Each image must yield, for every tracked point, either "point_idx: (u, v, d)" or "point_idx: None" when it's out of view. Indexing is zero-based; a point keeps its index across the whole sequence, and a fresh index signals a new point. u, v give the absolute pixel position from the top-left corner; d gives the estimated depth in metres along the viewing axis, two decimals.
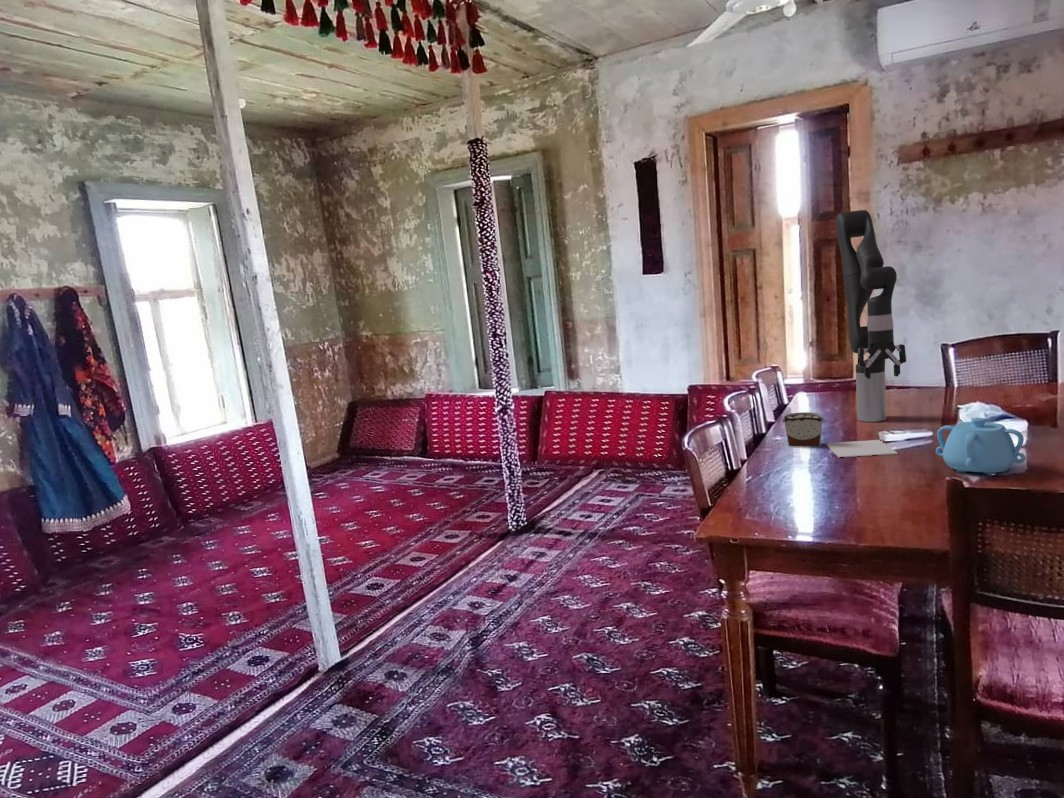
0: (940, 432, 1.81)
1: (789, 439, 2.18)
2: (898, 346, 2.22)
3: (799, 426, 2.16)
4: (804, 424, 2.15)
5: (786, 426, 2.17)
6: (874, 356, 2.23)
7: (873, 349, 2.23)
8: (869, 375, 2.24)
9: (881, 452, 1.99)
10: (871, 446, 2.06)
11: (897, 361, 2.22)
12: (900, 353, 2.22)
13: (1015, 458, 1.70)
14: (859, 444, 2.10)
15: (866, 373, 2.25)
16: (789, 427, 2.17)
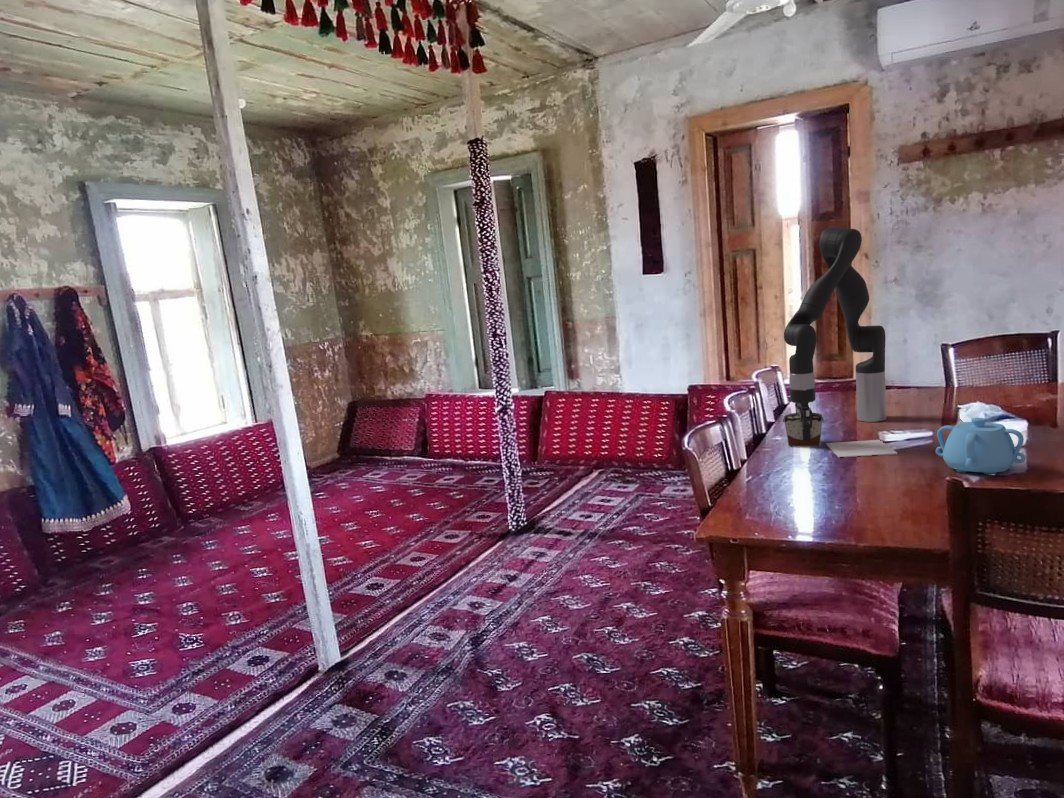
0: (940, 432, 1.81)
1: (789, 439, 2.18)
2: None
3: (799, 426, 2.16)
4: None
5: (786, 426, 2.17)
6: None
7: None
8: None
9: (881, 452, 1.99)
10: (871, 446, 2.06)
11: None
12: None
13: (1015, 458, 1.70)
14: (859, 444, 2.10)
15: (809, 435, 2.14)
16: (789, 427, 2.17)
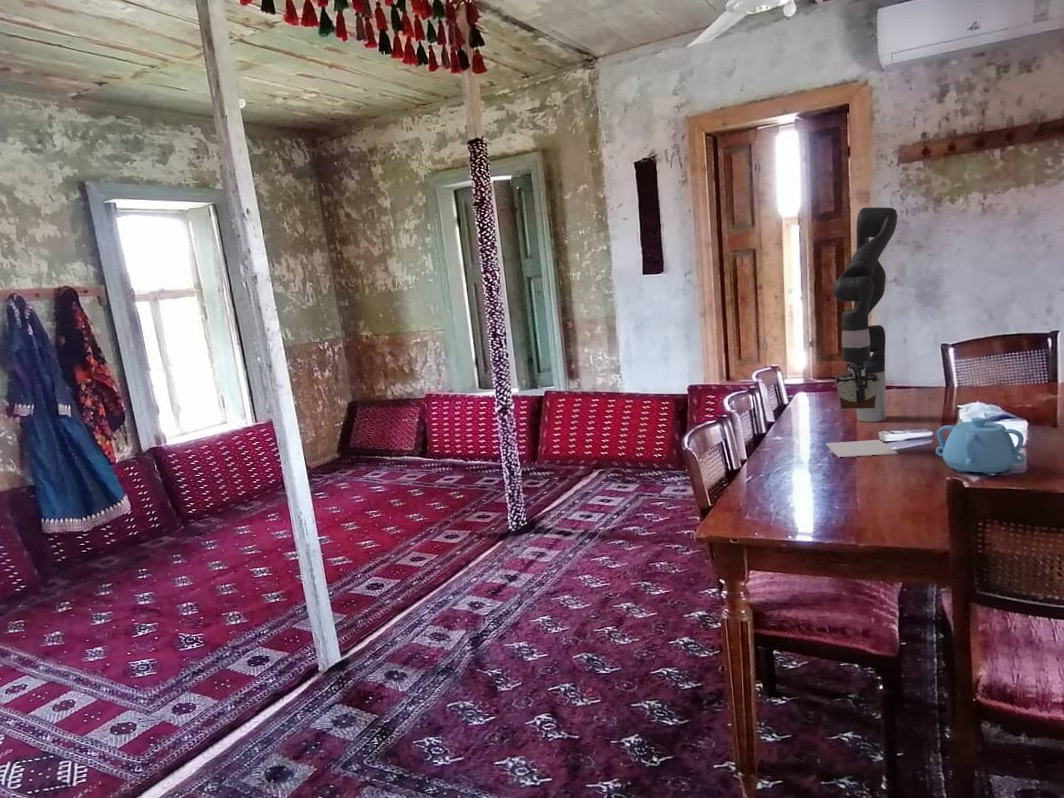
0: (940, 432, 1.81)
1: (841, 401, 2.04)
2: None
3: (852, 387, 2.02)
4: None
5: (838, 387, 2.04)
6: None
7: None
8: None
9: (881, 452, 1.99)
10: (871, 446, 2.06)
11: None
12: None
13: (1015, 458, 1.70)
14: (859, 444, 2.10)
15: (863, 396, 2.00)
16: (841, 389, 2.03)
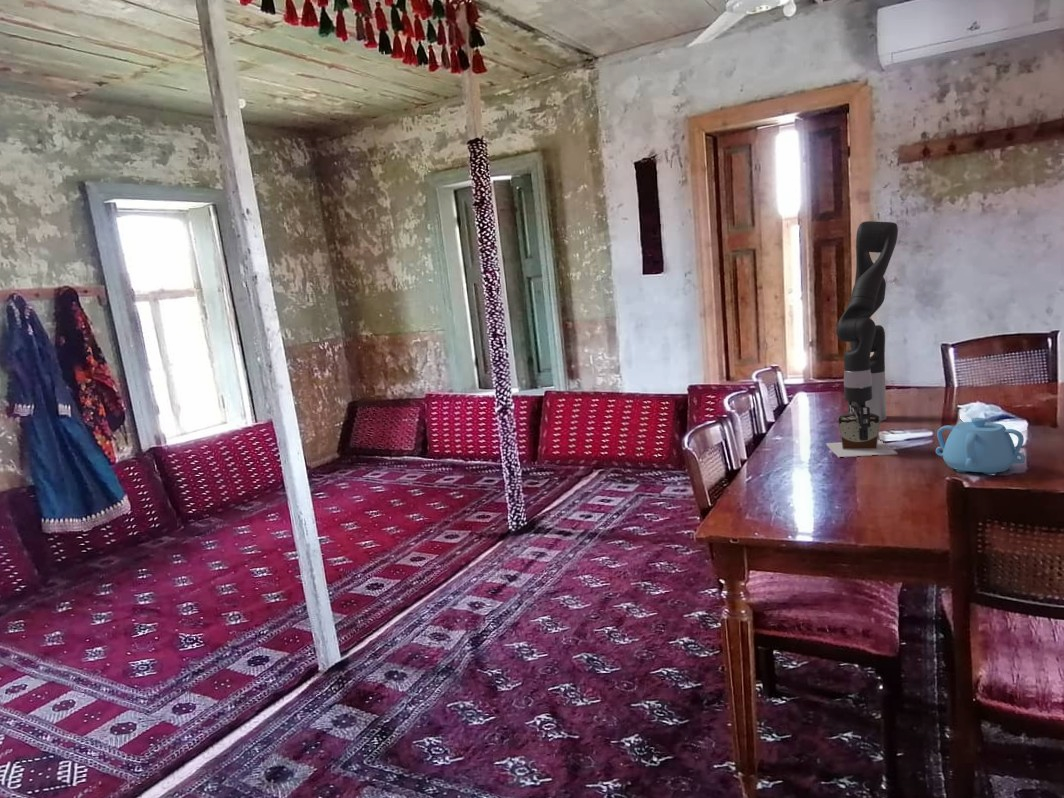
0: (940, 432, 1.81)
1: (843, 441, 2.06)
2: None
3: (854, 428, 2.04)
4: None
5: (840, 428, 2.06)
6: None
7: None
8: None
9: (881, 452, 1.99)
10: None
11: None
12: None
13: (1015, 458, 1.70)
14: None
15: (866, 434, 2.01)
16: (843, 429, 2.06)
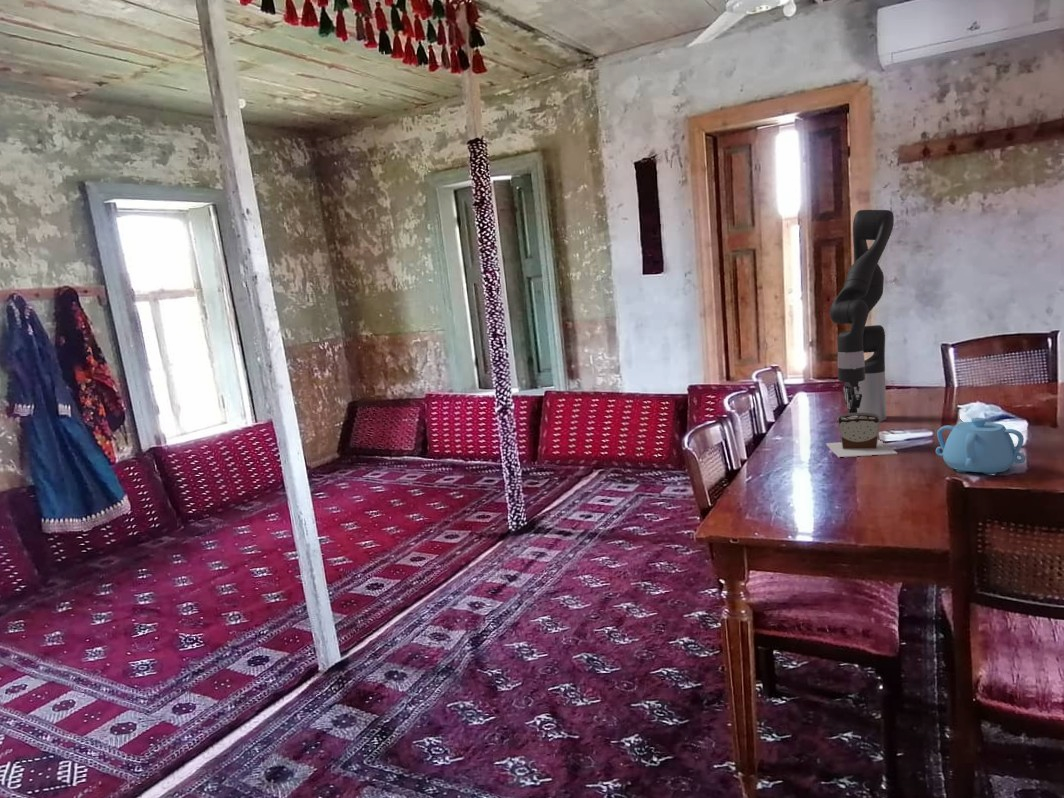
0: (940, 432, 1.81)
1: (843, 441, 2.07)
2: None
3: (854, 428, 2.04)
4: (860, 425, 2.04)
5: (840, 428, 2.06)
6: None
7: None
8: None
9: (881, 452, 1.99)
10: None
11: None
12: None
13: (1015, 458, 1.70)
14: None
15: None
16: (843, 429, 2.06)
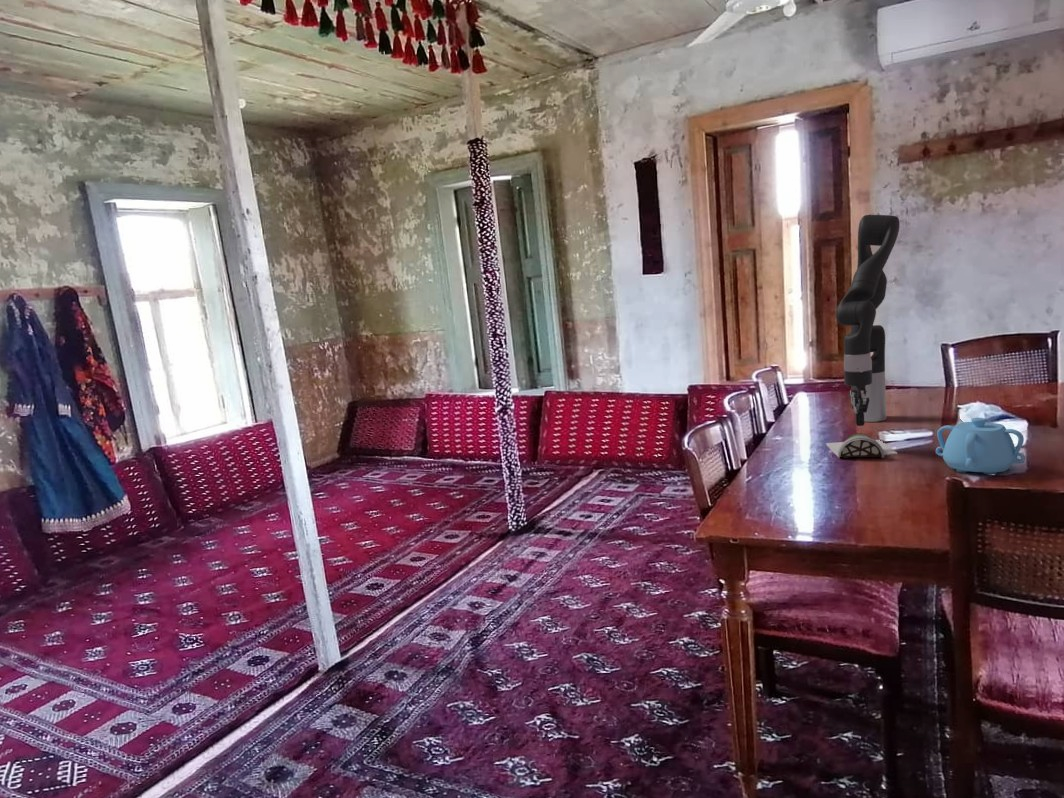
0: (940, 432, 1.81)
1: None
2: None
3: None
4: None
5: None
6: None
7: None
8: None
9: None
10: None
11: None
12: None
13: (1015, 458, 1.70)
14: None
15: (862, 419, 2.03)
16: None
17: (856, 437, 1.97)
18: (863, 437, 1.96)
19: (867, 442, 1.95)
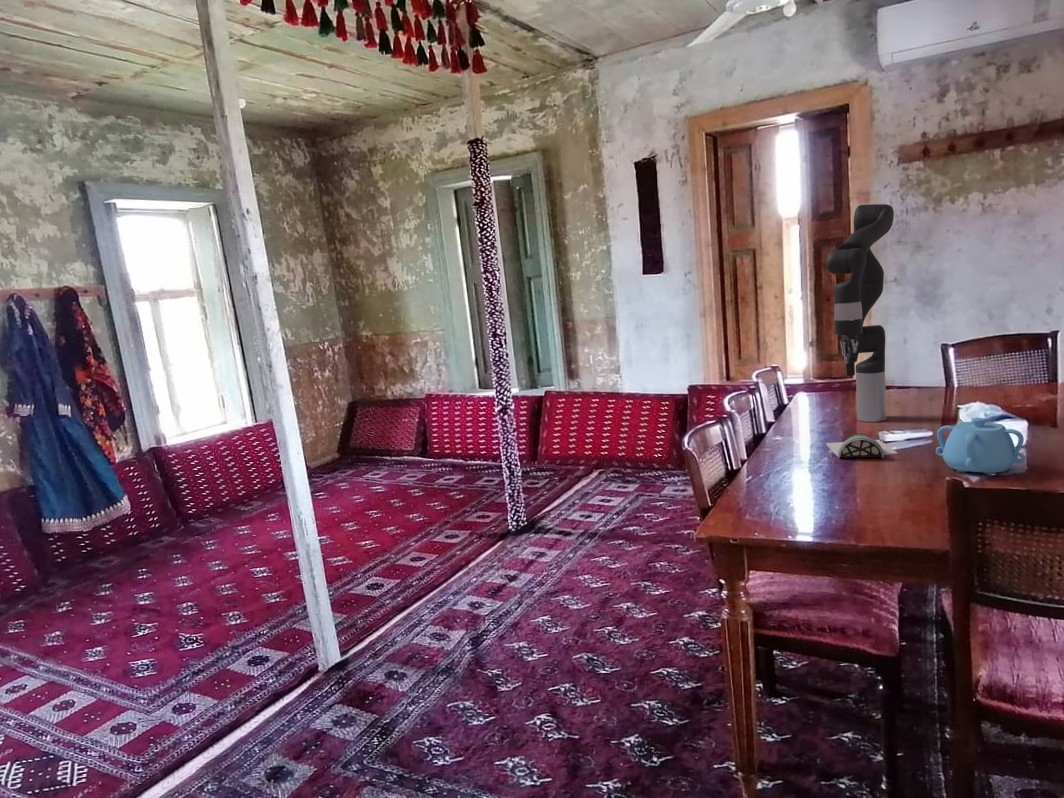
0: (940, 432, 1.81)
1: None
2: None
3: None
4: None
5: None
6: None
7: None
8: None
9: None
10: None
11: None
12: None
13: (1015, 458, 1.70)
14: None
15: None
16: None
17: (856, 437, 1.97)
18: (863, 437, 1.96)
19: (867, 442, 1.95)
